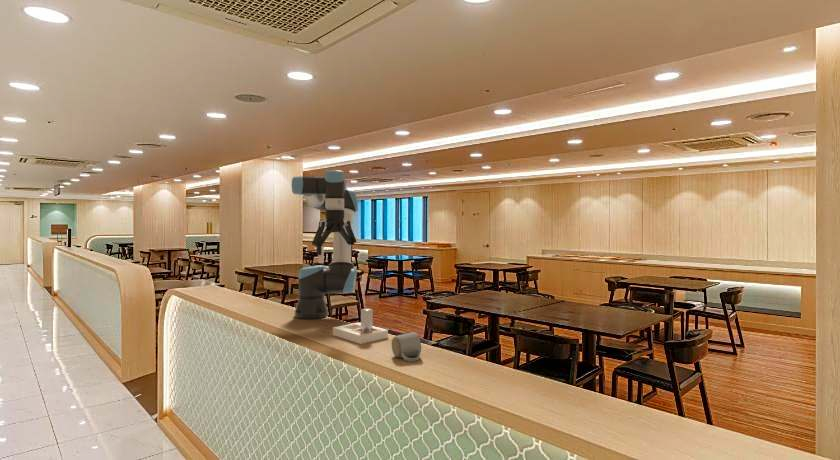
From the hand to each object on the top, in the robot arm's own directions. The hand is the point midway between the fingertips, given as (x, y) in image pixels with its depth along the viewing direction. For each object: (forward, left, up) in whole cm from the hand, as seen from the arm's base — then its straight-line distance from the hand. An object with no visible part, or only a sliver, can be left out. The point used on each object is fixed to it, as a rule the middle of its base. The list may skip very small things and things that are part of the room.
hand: (335, 261), depth 187 cm
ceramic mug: (+35, +31, -29) cm, 55 cm away
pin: (+12, +14, -28) cm, 34 cm away
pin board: (+8, +11, -28) cm, 32 cm away
